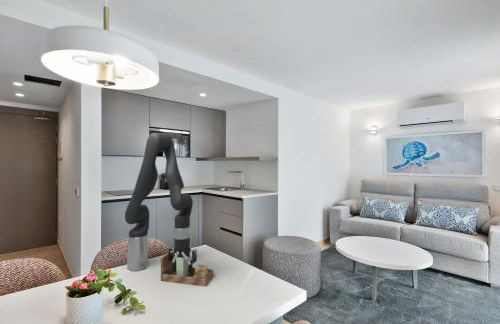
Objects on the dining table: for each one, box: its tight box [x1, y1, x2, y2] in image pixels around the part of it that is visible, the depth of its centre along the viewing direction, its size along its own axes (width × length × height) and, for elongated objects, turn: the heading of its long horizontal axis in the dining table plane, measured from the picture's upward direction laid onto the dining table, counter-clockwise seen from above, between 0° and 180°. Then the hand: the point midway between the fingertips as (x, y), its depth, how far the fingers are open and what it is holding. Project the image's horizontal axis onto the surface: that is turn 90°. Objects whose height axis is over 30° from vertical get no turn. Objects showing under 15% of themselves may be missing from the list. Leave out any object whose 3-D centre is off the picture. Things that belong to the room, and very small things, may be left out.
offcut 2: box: [194, 271, 209, 279], centre depth 116 cm, size 5×6×3 cm
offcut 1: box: [195, 264, 209, 276], centre depth 116 cm, size 4×5×3 cm
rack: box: [160, 252, 215, 287], centre depth 118 cm, size 22×11×12 cm, turn 76°
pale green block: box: [176, 256, 188, 277], centre depth 119 cm, size 4×5×10 cm
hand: (182, 270), depth 119 cm, fingers open, 7 cm apart
